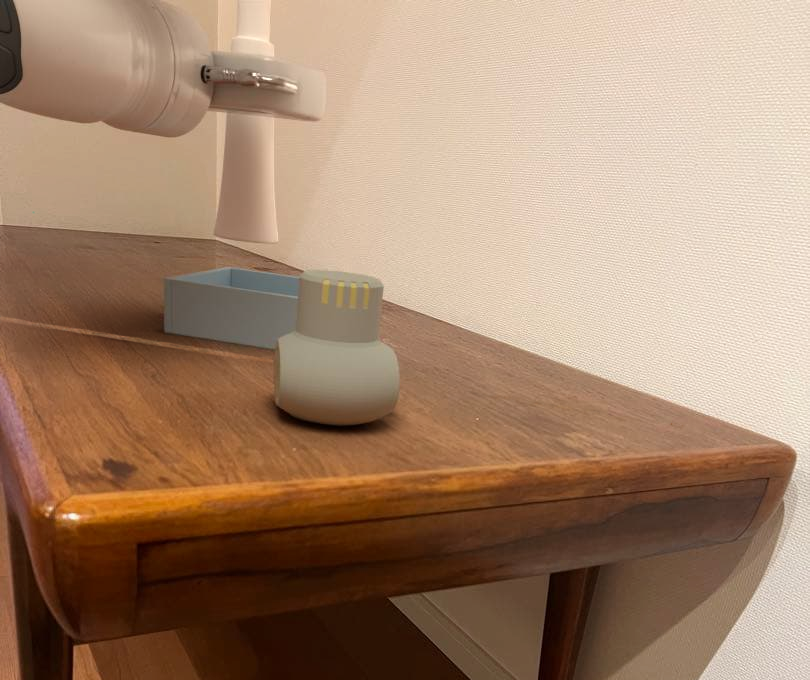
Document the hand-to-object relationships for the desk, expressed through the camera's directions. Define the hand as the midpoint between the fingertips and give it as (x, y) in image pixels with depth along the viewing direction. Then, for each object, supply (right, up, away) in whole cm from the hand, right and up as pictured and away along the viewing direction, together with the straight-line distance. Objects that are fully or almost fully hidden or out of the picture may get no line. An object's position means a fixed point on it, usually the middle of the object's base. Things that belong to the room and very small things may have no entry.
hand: (257, 97), depth 70 cm
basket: (-1, -18, +13) cm, 22 cm away
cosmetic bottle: (-2, -11, +4) cm, 12 cm away
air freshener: (+8, -31, -12) cm, 34 cm away
